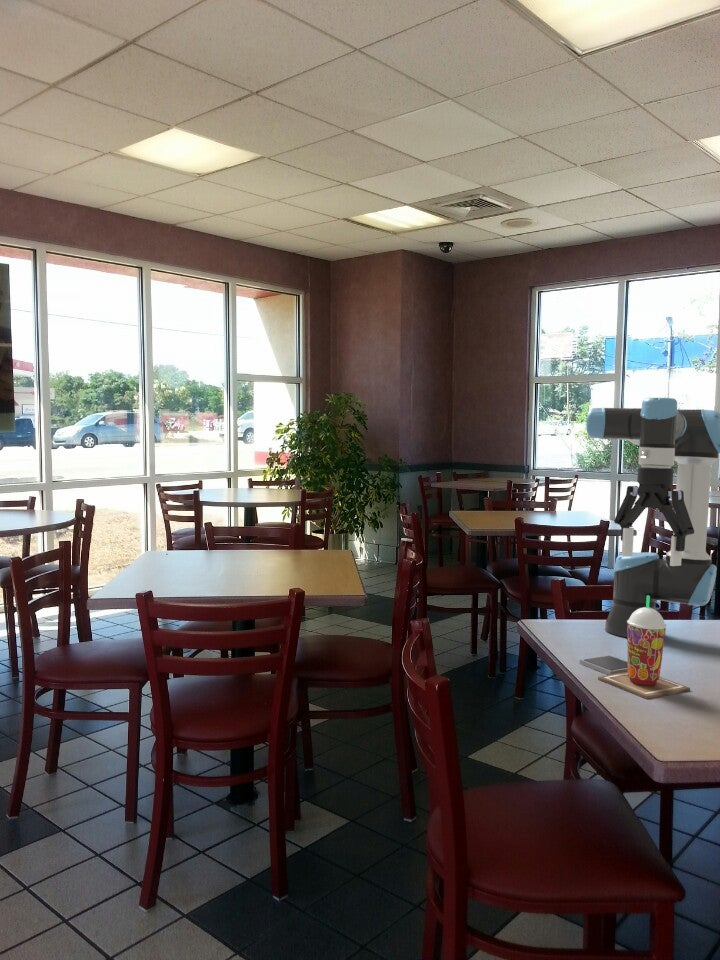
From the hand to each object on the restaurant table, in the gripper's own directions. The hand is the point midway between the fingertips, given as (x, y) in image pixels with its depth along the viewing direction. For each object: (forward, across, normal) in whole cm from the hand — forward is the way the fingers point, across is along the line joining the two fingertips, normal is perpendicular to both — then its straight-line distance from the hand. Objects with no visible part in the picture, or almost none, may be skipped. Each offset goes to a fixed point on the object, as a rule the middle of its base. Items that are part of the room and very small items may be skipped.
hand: (650, 560), depth 174 cm
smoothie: (+28, 0, 0) cm, 28 cm away
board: (+29, 0, 0) cm, 29 cm away
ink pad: (+29, -13, +3) cm, 32 cm away
